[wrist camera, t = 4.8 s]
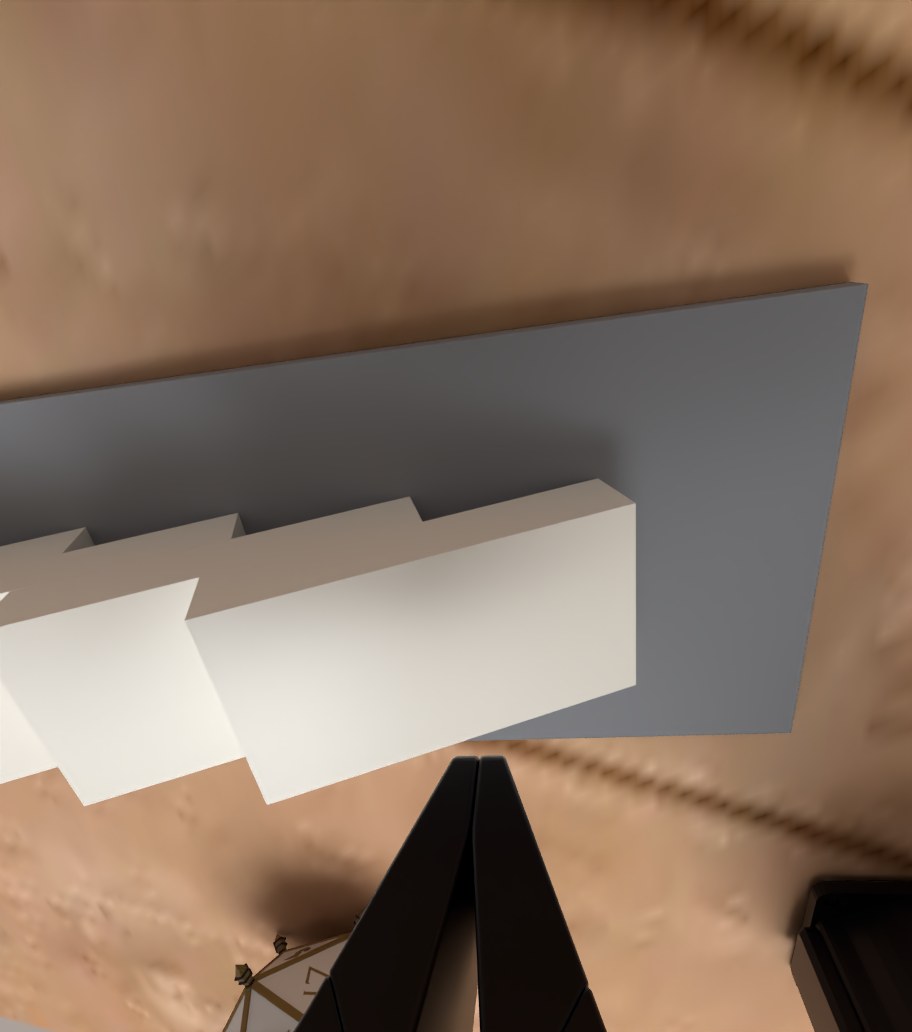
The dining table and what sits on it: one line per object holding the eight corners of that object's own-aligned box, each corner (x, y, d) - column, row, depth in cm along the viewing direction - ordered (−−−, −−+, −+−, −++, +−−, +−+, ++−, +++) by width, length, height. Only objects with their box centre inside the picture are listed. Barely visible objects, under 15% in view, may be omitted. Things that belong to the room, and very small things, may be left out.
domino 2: (422, 522, 12) (-31, 634, 10) (455, 692, 14) (83, 806, 12) (409, 496, 13) (9, 591, 12) (441, 654, 15) (106, 752, 14)
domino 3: (635, 503, 11) (184, 620, 10) (635, 684, 13) (266, 805, 12) (598, 478, 13) (199, 577, 11) (603, 646, 15) (270, 748, 13)
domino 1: (231, 538, 13) (-222, 646, 11) (290, 697, 15) (-83, 808, 13) (238, 512, 14) (-163, 605, 12) (290, 662, 16) (-45, 756, 15)
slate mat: (850, 282, 11) (867, 283, 10) (781, 716, 16) (791, 732, 15) (-186, 426, 15) (-212, 433, 14) (27, 738, 20) (14, 751, 19)
